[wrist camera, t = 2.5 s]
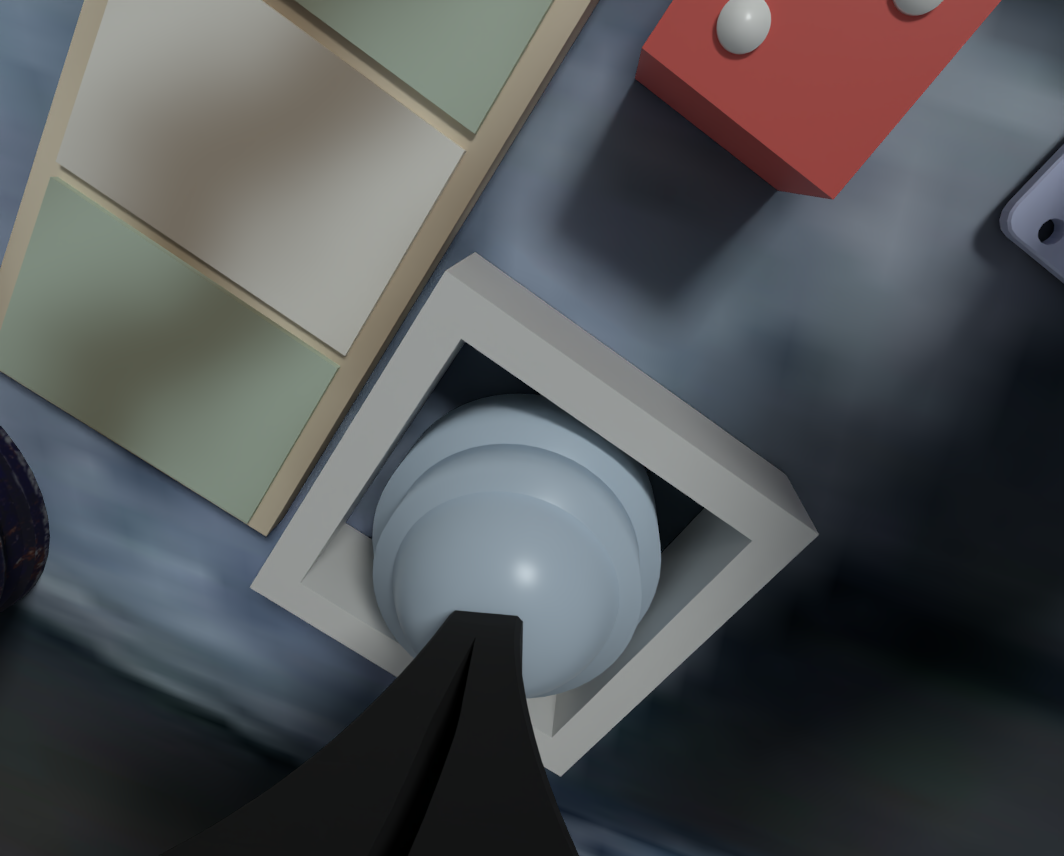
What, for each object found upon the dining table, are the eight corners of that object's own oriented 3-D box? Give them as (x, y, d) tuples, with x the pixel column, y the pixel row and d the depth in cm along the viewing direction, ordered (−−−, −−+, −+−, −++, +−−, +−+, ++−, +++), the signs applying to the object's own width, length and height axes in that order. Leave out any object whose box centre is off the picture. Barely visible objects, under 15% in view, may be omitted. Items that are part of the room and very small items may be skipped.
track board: (905, -502, 11) (939, -580, 9) (282, 519, 19) (262, 540, 18) (440, -958, 9) (417, -1107, 8) (5, 345, 18) (-34, 356, 17)
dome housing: (785, 474, 17) (819, 534, 14) (567, 694, 21) (560, 776, 18) (475, 252, 16) (445, 270, 13) (301, 527, 19) (249, 587, 17)
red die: (917, 16, 13) (1040, -45, 9) (777, 190, 15) (835, 200, 11) (763, -117, 13) (827, -236, 9) (634, 78, 14) (642, 46, 10)
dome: (712, 496, 17) (754, 637, 12) (555, 662, 19) (534, 836, 14) (486, 338, 16) (427, 418, 11) (353, 534, 18) (256, 671, 13)
